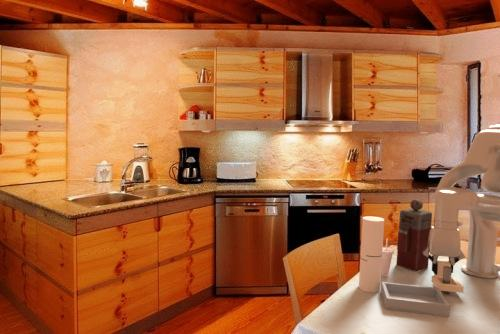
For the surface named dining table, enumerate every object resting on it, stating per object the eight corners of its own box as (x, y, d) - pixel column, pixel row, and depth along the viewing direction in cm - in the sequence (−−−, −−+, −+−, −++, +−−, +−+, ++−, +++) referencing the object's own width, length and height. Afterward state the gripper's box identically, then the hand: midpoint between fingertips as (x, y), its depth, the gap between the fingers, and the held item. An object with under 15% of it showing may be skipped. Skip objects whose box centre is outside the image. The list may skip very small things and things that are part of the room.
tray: (437, 297, 124) (438, 287, 123) (449, 316, 111) (449, 305, 111) (380, 291, 128) (381, 281, 127) (386, 308, 115) (386, 298, 115)
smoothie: (393, 277, 140) (395, 241, 139) (375, 275, 141) (378, 240, 140) (390, 271, 146) (392, 236, 145) (373, 269, 148) (375, 235, 146)
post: (448, 291, 129) (450, 266, 128) (450, 294, 127) (452, 269, 126) (440, 290, 130) (442, 265, 129) (442, 293, 127) (444, 268, 126)
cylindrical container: (377, 294, 125) (381, 222, 123) (356, 289, 129) (360, 219, 126) (382, 286, 131) (386, 218, 129) (361, 282, 135) (365, 215, 133)
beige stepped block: (451, 278, 136) (453, 259, 135) (463, 292, 123) (464, 272, 123) (428, 275, 137) (429, 257, 137) (437, 290, 125) (438, 270, 124)
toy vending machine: (392, 265, 152) (397, 199, 150) (408, 260, 159) (412, 196, 156) (412, 273, 145) (417, 203, 142) (428, 267, 152) (433, 200, 149)
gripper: (467, 223, 134) (463, 272, 136) (418, 220, 138) (415, 267, 140) (475, 229, 127) (471, 280, 129) (422, 225, 130) (419, 275, 132)
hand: (442, 273), depth 134 cm, fingers closed on beige stepped block, 4 cm apart
